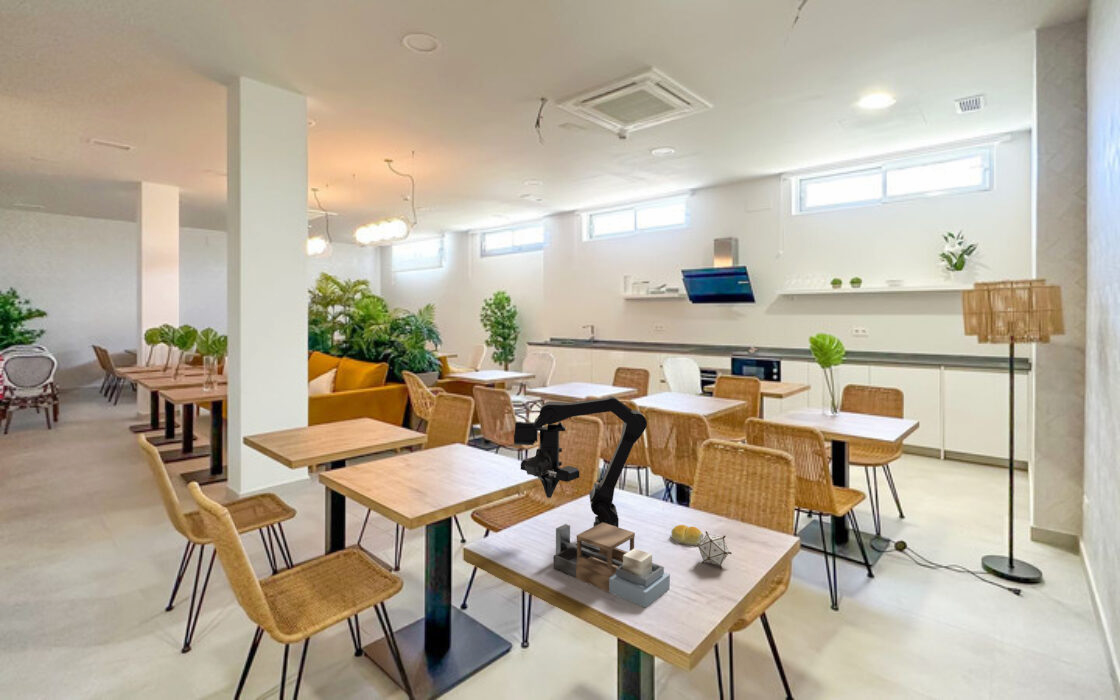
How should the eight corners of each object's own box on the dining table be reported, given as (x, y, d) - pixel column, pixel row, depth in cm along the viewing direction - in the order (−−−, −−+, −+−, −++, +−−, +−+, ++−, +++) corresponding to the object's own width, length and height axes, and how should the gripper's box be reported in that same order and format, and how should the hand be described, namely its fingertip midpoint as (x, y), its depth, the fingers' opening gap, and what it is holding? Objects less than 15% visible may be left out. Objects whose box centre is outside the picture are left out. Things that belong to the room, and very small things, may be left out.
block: (622, 575, 123) (623, 555, 123) (634, 568, 127) (634, 548, 127) (640, 582, 120) (641, 561, 120) (651, 574, 124) (652, 554, 124)
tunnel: (553, 568, 134) (553, 527, 133) (579, 554, 142) (580, 515, 142) (609, 592, 123) (609, 547, 122) (634, 575, 131) (634, 532, 130)
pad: (609, 592, 123) (609, 577, 122) (634, 575, 131) (634, 561, 131) (645, 607, 116) (646, 592, 116) (669, 588, 124) (669, 574, 124)
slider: (550, 560, 136) (550, 530, 136) (570, 550, 143) (570, 521, 142) (645, 599, 118) (646, 565, 117) (663, 585, 124) (664, 553, 123)
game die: (713, 581, 135) (707, 560, 130) (693, 557, 142) (686, 537, 137) (740, 561, 137) (735, 540, 132) (718, 539, 144) (713, 518, 138)
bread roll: (676, 531, 159) (676, 519, 158) (705, 538, 154) (705, 525, 154) (666, 541, 152) (667, 527, 151) (696, 548, 147) (697, 535, 147)
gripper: (507, 445, 152) (507, 497, 153) (555, 456, 140) (555, 512, 140) (533, 438, 160) (533, 488, 161) (580, 448, 148) (580, 502, 149)
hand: (549, 497), depth 153 cm, fingers closed
